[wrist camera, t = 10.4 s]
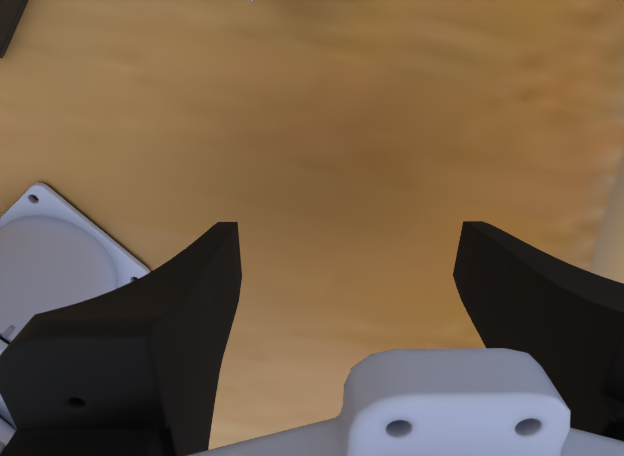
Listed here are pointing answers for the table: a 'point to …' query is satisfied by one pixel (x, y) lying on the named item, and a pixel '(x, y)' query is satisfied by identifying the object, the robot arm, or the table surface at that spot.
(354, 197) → the table surface
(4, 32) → the pan
